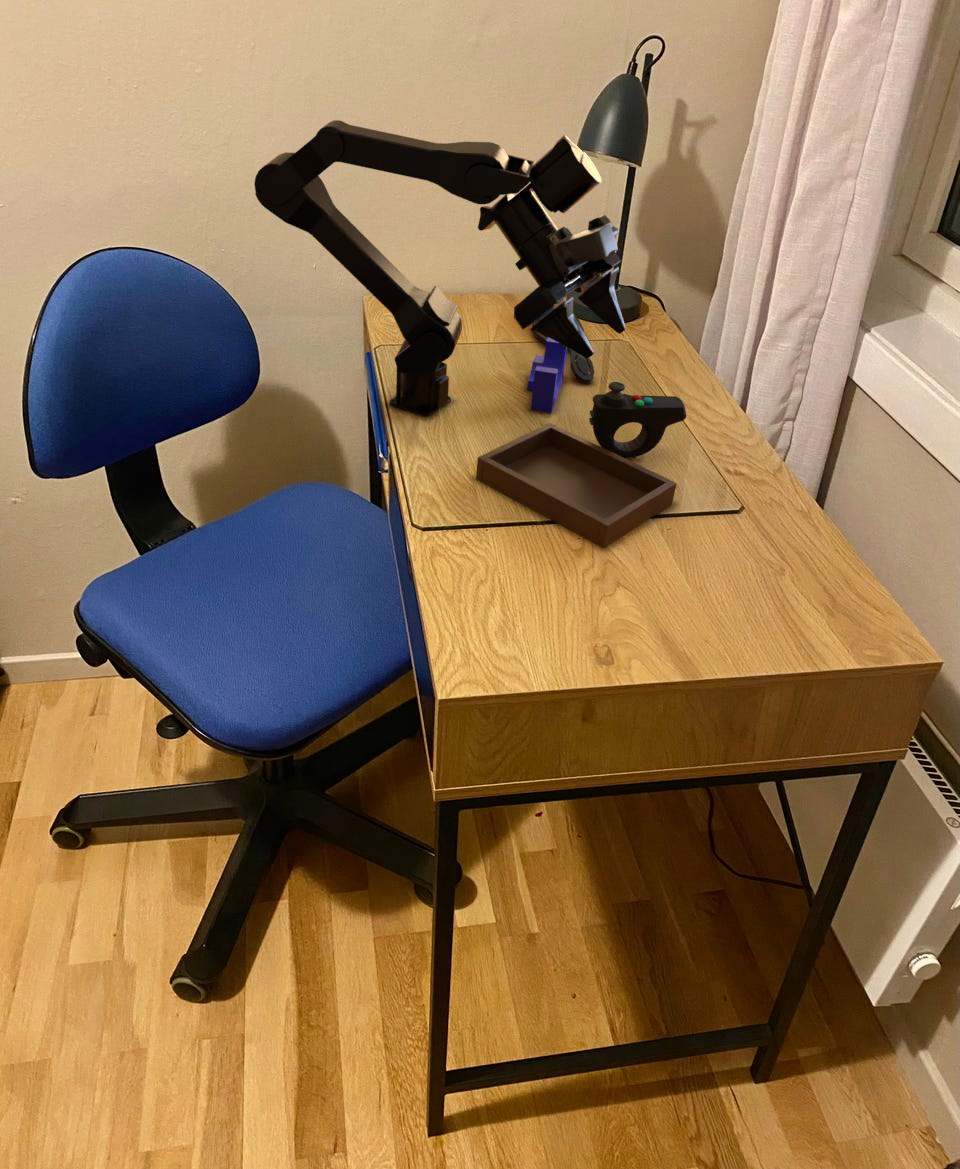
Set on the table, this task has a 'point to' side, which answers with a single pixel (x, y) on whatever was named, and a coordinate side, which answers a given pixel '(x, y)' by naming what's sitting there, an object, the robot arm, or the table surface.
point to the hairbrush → (581, 364)
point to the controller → (633, 419)
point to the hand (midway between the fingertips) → (607, 343)
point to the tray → (576, 483)
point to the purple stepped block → (547, 376)
